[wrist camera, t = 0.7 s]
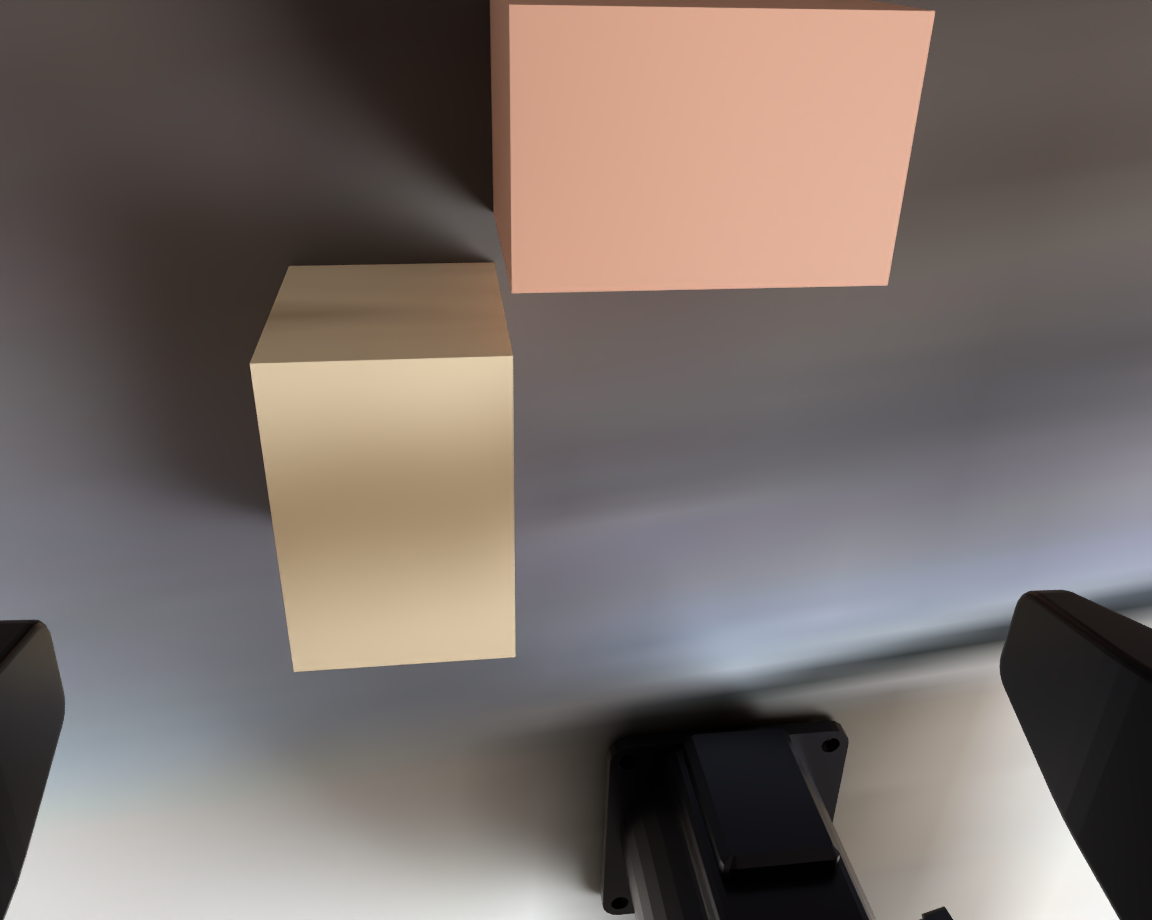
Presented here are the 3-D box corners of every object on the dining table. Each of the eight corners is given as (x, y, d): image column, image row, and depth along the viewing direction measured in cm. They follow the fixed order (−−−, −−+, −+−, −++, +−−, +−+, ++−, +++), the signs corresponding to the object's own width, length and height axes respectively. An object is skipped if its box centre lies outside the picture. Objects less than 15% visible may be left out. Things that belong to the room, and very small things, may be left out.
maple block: (498, 516, 23) (515, 656, 18) (320, 525, 22) (293, 672, 18) (494, 261, 20) (512, 356, 16) (289, 264, 19) (250, 363, 15)
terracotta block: (814, -9, 18) (935, 10, 14) (788, 207, 20) (887, 285, 16) (489, -15, 18) (509, 4, 13) (493, 211, 19) (512, 293, 15)
